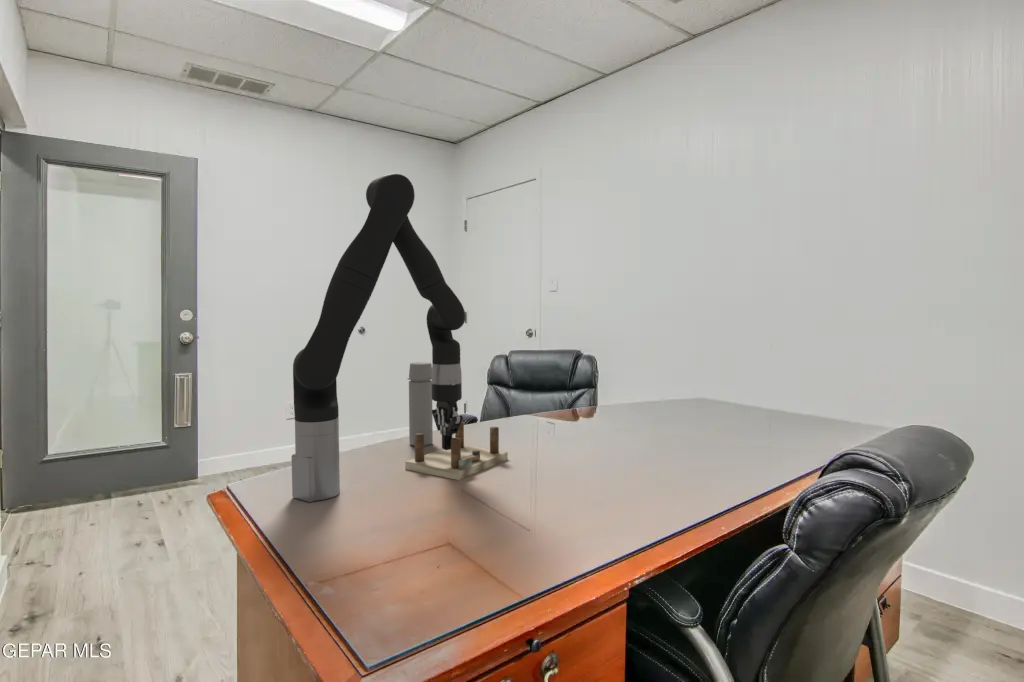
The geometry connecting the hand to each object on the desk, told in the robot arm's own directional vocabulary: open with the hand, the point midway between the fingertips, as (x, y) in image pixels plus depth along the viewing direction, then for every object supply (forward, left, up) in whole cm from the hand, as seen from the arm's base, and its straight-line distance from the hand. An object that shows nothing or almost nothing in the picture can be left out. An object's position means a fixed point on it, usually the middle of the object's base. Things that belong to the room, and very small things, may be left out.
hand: (447, 449), depth 140 cm
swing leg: (+3, -4, -4) cm, 6 cm away
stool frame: (+7, +2, -6) cm, 10 cm away
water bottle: (+19, +26, -6) cm, 33 cm away
